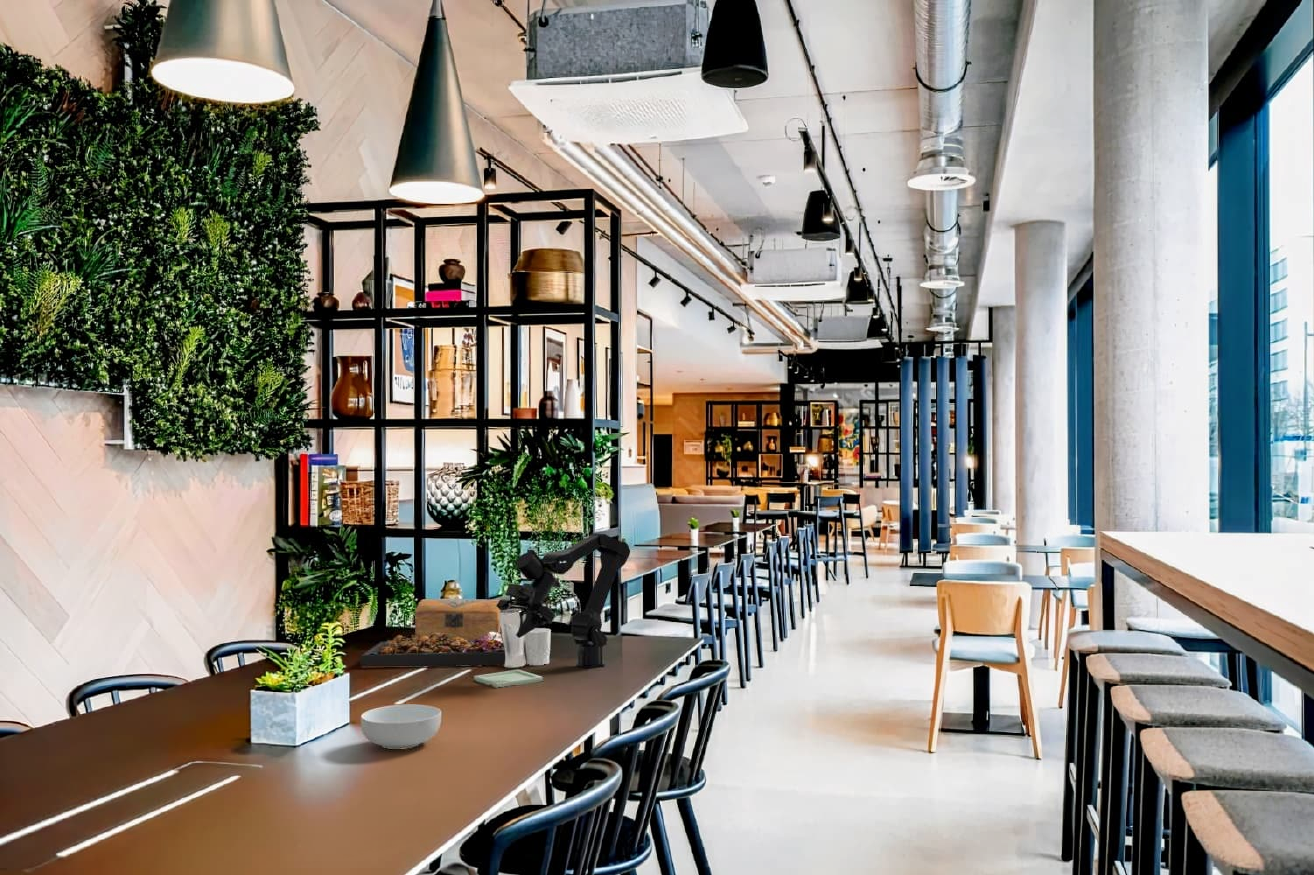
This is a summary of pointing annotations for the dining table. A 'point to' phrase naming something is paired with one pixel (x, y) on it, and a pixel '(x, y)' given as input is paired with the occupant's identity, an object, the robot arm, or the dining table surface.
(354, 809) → the dining table surface
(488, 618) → the wooden box
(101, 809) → the dining table surface
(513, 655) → the beer glass
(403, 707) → the cereal bowl
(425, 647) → the food platter
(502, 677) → the tray
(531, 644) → the white cup
